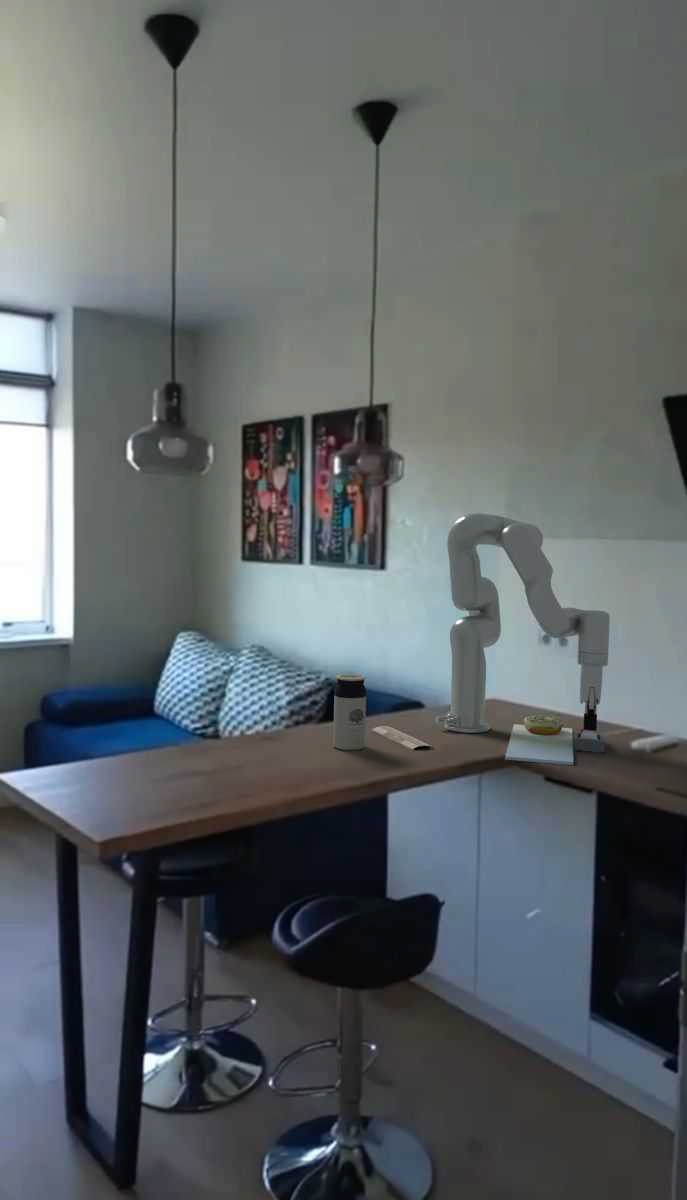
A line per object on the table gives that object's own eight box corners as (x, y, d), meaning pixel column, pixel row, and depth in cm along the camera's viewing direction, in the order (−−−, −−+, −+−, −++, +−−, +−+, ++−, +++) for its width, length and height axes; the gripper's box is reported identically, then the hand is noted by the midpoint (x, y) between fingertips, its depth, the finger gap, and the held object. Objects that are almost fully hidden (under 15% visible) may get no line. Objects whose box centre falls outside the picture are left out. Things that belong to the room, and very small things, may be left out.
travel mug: (329, 743, 229) (331, 674, 228) (360, 742, 231) (361, 673, 230) (337, 751, 221) (339, 679, 220) (368, 750, 223) (370, 678, 222)
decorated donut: (523, 734, 242) (523, 720, 242) (523, 726, 253) (524, 712, 253) (562, 736, 240) (563, 722, 240) (561, 728, 251) (562, 715, 250)
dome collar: (573, 743, 236) (573, 732, 236) (603, 746, 234) (603, 734, 234) (573, 750, 229) (573, 738, 228) (604, 752, 227) (604, 741, 227)
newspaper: (433, 751, 227) (433, 744, 227) (408, 753, 224) (408, 746, 224) (391, 731, 248) (391, 725, 248) (368, 733, 246) (368, 727, 245)
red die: (579, 740, 241) (580, 725, 240) (595, 741, 240) (595, 726, 239) (580, 743, 237) (580, 728, 236) (595, 744, 236) (596, 729, 235)
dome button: (579, 743, 234) (579, 726, 234) (597, 744, 233) (598, 728, 233) (579, 746, 230) (580, 730, 229) (598, 748, 229) (598, 731, 228)
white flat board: (513, 727, 255) (514, 724, 255) (571, 731, 251) (572, 728, 251) (505, 759, 217) (505, 756, 217) (573, 765, 213) (573, 761, 213)
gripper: (577, 654, 238) (574, 722, 239) (578, 661, 223) (575, 734, 225) (606, 655, 236) (603, 724, 237) (609, 663, 221) (606, 736, 223)
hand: (589, 729), depth 231 cm, fingers closed
